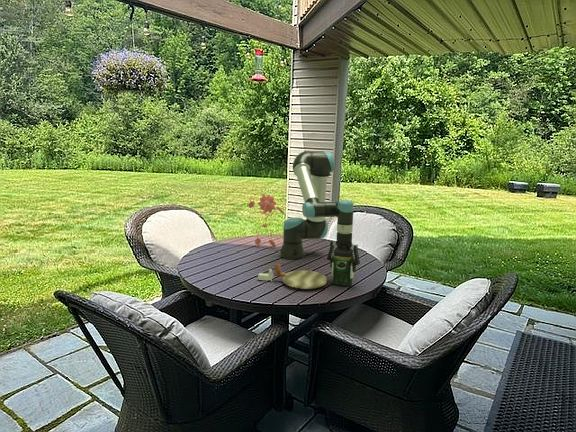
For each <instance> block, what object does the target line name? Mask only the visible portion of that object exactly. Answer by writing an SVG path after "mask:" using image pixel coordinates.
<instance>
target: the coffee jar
mask: <svg viewBox="0 0 576 432" xmlns="http://www.w3.org/2000/svg"><path fill="white" fill-rule="evenodd" d="M337 248H338V247H337V246H336V247H334V250H333V254H332V256H333V257H334V272H333V275H332V284H334V285H336V286H340V287H341V286H342V287H348V286H351V285H352V283H353V278H352V279H351V278H350V271H351V265H352V263H351V261H350V260H351V257H352V256H353V257H354V251H353V248H351V249H349V251H346V250H345V249H341V248H340V249H337Z"/></svg>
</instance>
